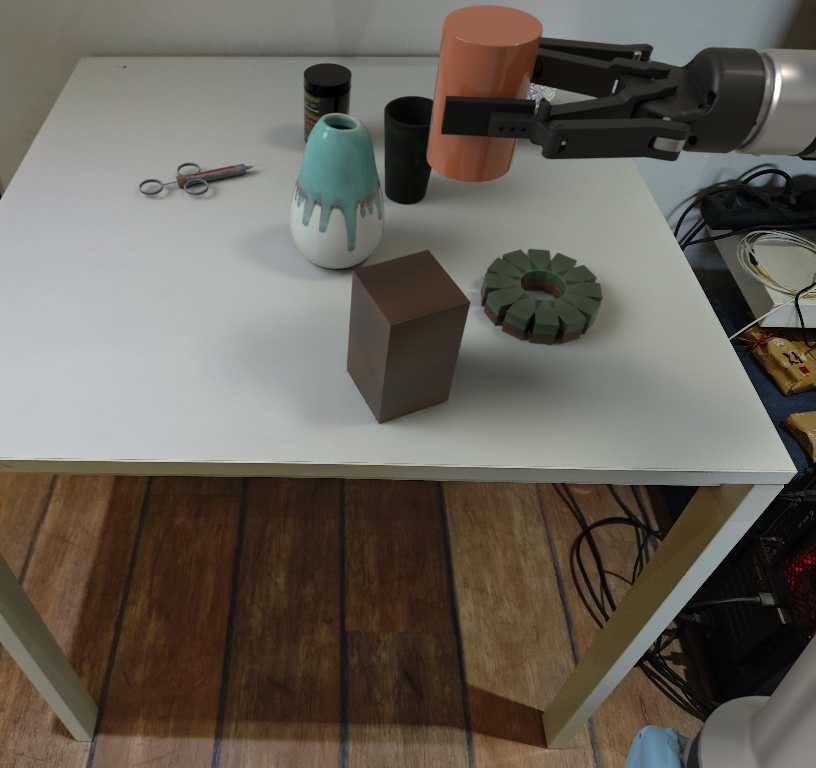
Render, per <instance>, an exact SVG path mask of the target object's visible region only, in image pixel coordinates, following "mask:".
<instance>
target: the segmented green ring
mask: <svg viewBox="0 0 816 768" xmlns="http://www.w3.org/2000/svg"><path fill="white" fill-rule="evenodd" d="M577 262H578V260H577V259H575V258H572V257H570V256H567V255H565V254H562V253H561V252H557V253H556V254H555V255H554V256H553V257H552V258H551V251H550V250H549V249H538V248H528V250H527V253H525V252H524V251H523V250H522V249H517V250H514V251H510V252H507V253H503V254H502V258H500V257H496V259H495V260H494V261H493V262H492V263H491V264H490V265H489V266H488V267H487V268H486V272H485V273H484V277H483V281H482V285H481V290H480V305H481V307H484V309H483V313H484V314H485V315H486V317H487V318H488V319H489V320H490V321H491V323H492V324H493V325H494V326H496V327H497V326H499V325H502V327H501V331H502V332H504V333H506V334H508V335H510V336H512V337H514V338H516V339H519V340H523V338H524V337H525V336H526V335H527V334H528V337H529V343H532V344H543V345H551V346H552V345H553V344H554V341H555V339H556V340H557V341H558V342H559V343H560V344H564V343H567V342H570V341H573V340H577V339H579V338H580V336H581V334H584V335H585V334H587V332H588V331H589V330H590V328H591V327H592V326H593V324H594V323H595V320H596V318H597V317H598V313H599V311H600V308H601V306H602V300H603V298H604V297H603V292H602V287H601V286H602V285H601V282H596V281H597V278H598V277H597V276H596V275H595V274H594V273H593V272H592V271H591V270H590V269H589V268H588V267H587V266H586V265H585V264H581V265H579V266H576V265H577ZM528 290H533V291H534V290H535V291H542V292H544V293H546V294H549V295H550V296H552V297H553V298H554V299H551V300H549V299H540V298H537V297H535V296H533V295H531V294H528V293H527V291H528Z"/></svg>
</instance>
